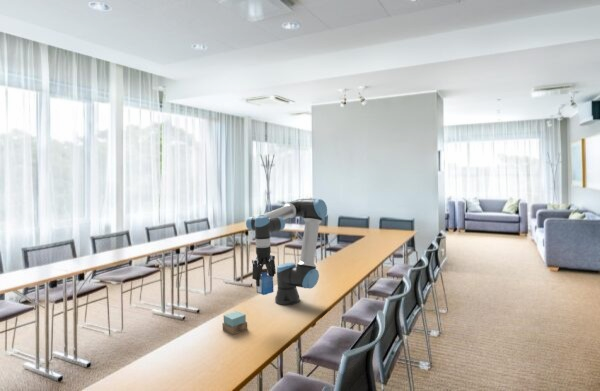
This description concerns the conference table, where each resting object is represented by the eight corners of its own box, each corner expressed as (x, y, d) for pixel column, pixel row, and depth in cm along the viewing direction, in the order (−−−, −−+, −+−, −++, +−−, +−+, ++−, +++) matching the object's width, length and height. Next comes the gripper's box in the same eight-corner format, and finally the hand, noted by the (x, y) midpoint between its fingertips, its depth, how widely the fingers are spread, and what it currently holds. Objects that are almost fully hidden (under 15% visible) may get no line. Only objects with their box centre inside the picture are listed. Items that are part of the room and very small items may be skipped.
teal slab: (237, 318, 193) (236, 310, 193) (245, 322, 187) (245, 314, 187) (223, 322, 187) (223, 315, 187) (232, 327, 182) (232, 319, 181)
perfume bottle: (263, 295, 185) (262, 271, 184) (256, 292, 189) (255, 269, 188) (273, 292, 189) (272, 269, 188) (266, 289, 193) (265, 267, 193)
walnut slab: (237, 325, 194) (236, 317, 193) (247, 329, 187) (247, 322, 187) (222, 330, 187) (222, 323, 187) (232, 335, 181) (232, 327, 181)
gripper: (272, 242, 197) (274, 284, 198) (243, 248, 183) (245, 293, 185) (281, 244, 192) (283, 287, 193) (252, 250, 178) (254, 296, 179)
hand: (265, 290), depth 189 cm, fingers closed on perfume bottle, 6 cm apart
